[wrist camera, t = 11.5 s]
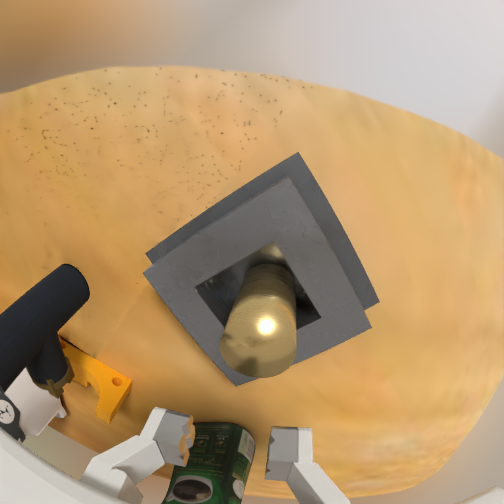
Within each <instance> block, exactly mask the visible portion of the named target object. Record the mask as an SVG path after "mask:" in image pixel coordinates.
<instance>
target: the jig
mask: <svg viewBox="0 0 504 504" xmlns="http://www.w3.org/2000/svg"><path fill="white" fill-rule="evenodd" d="M145 254H146V255H147V257H148V258H149V259H150V261H151V262H152V265H151V266H150V267H149V268H148V269H147V270H145V271H144V272H143V274H144V276H145V277H146V278H147V280H148V281H149V282H150V284H151V285H152V286H153V288H154V289H155V291H156V292H157V293H158V295H159V296H160V297H161V298H162V300H163V301H164V302H165V304H166V305H167V306H168V308H169V309H170V310H171V311H172V313H173V314H174V315H175V317H176V318H177V319H178V320H179V322H180V323H181V324H182V325H183V326H184V328H185V329H186V330H187V331H188V333H189V334H190V335H191V336H192V337H193V339H194V340H195V341H196V342H197V343H198V345H199V346H200V347H201V348H202V349H203V350H204V352H205V353H206V354H207V355H208V356H209V357H210V358H211V360H212V361H213V362H214V363H215V364H216V365H217V366H218V367H219V369H220V370H221V371H222V372H223V373H224V374H225V375H226V376H227V377H228V378H229V379H230V381H231V382H232V383H233V384H234V385H235V386H238V385H241V384H244V383H247V382H250V381H252V380H255V379H258V378H255V377H249V376H246V375H243V374H241V373H239V372H237V371H235V370H234V369H232V368H231V367H230V366H229V365H228V364H227V363H226V362H225V361H224V359H223V357H222V355H221V352H220V340H221V337H222V334H223V331H224V329H225V326H226V323H227V321H228V318H229V315H230V312H231V310H232V307H233V304H234V302H235V299H236V296H237V294H238V291H239V288H240V286H241V283H242V280H243V278H244V276H245V275H246V273H247V272H248V271H249V270H250V269H252V268H253V267H255V266H257V265H261V264H275V265H278V266H280V267H282V268H284V269H285V270H287V271H288V272H289V273H290V275H291V276H292V278H293V279H294V282H295V289H296V357H295V360H294V362H293V363H292V365H294V364H296V363H298V362H301V361H303V360H305V359H308V358H310V357H312V356H314V355H317V354H319V353H321V352H323V351H326V350H328V349H330V348H332V347H334V346H336V345H338V344H340V343H342V342H344V341H346V340H349V339H351V338H353V337H355V336H356V335H358V334H360V333H362V332H364V331H366V330H368V329H370V328H372V327H371V325H370V322H369V320H368V318H367V315H366V313H365V311H364V310H366V309H367V308H369V307H371V306H373V305H375V304H376V303H378V302H380V301H379V299H378V297H377V295H376V293H375V291H374V288H373V286H372V284H371V282H370V280H369V278H368V276H367V274H366V272H365V270H364V268H363V266H362V264H361V262H360V260H359V258H358V256H357V254H356V252H355V250H354V248H353V246H352V244H351V242H350V240H349V238H348V236H347V234H346V233H345V231H344V229H343V227H342V225H341V223H340V221H339V220H338V218H337V216H336V214H335V212H334V211H333V209H332V207H331V205H330V204H329V202H328V200H327V198H326V197H325V195H324V193H323V192H322V190H321V188H320V186H319V185H318V183H317V181H316V180H315V178H314V176H313V175H312V173H311V172H310V170H309V168H308V167H307V165H306V163H305V162H304V160H303V159H302V157H301V155H300V154H299V152H297V153H296V154H294V155H292V156H291V157H289V158H287V159H286V160H284V161H282V162H281V163H279V164H277V165H276V166H274V167H273V168H271V169H269V170H268V171H266V172H264V173H263V174H261V175H260V176H258V177H256V178H255V179H253V180H252V181H250V182H249V183H247V184H245V185H244V186H242V187H241V188H239V189H238V190H236V191H235V192H233V193H232V194H230V195H228V196H227V197H225V198H224V199H222V200H221V201H219V202H218V203H216V204H215V205H213V206H212V207H210V208H209V209H207V210H206V211H205V212H203V213H202V214H200V215H199V216H197V217H196V218H194V219H193V220H191V221H190V222H188V223H187V224H186V225H184V226H183V227H181V228H180V229H179V230H177V231H176V232H174V233H173V234H171V235H170V236H169V237H167V238H166V239H164V240H163V241H162V242H160V243H159V244H158V245H156V246H155V247H153V248H152V249H151V250H149V251H148V252H147V253H145Z"/></svg>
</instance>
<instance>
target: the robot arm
mask: <svg viewBox="0 0 504 504" xmlns="http://www.w3.org/2000/svg"><path fill="white" fill-rule="evenodd" d="M66 415H67V413H66V411H65V410H64V408H63V407H62V405H61V401H60V397H59V399H57V398H55V397H54V396H52V395H51V394H49V392H48V390H43V389H41V388H39V387H38V386H36V385H35V384H34V383H33V381H32V379H31V377H30V375H29V373H28V372H27V370H26V368H25V369H24V370H23V371H22V372H21V373H20V375H19V376H18V377H17V378H16V379H15V381H14V382H13V383H12V384H11V386H10V387H9V388H8V389H7V391H6V392H5V393H4V394H3V393H1V392H0V504H141V502H142V499H143V495H142V494H141V492H140V491H139V490H138V489H137V487H136V486H135V485H136V484H138V483H139V482H141V481H142V480H143V479H145V478H146V477H148V476H149V475H150V474H152V473H153V472H154V471H156V470H157V469H159V468H160V467H161V466H163V465H164V464H165V462H166V463H170V464H174V465H179V466H183V467H186V464H187V461H188V458H189V455H190V454H189V450H188V449H189V448H190V447H192V446H193V443H194V439H195V426H194V425H193V424H192V423H193V416H192V415H189V414H184V413H180V412H175V411H171V410H168V409H164V408H160V407H155V408H154V409H153V410H152V412H151V414H150V416H149V418H148V420H147V422H146V424H145V426H144V428H143V430H142V432H141V434H140V436H138V435H135V436H133V437H132V438H130V439H128V440H126V441H124V442H122V443H120V444H119V445H117V446H115V447H113V448H111V449H109V450H107V451H105V452H103V453H101V454H99V455H97V456H95V457H93V458H92V460H91V462H90V463H89V465H88V467H87V468H86V470H85V472H84V474H83V476H82V477H81V479H80V481H79V480H78V479H75V478H74V477H72V476H70V475H68V474H67V473H65V472H63V471H62V470H60V469H58V468H57V467H55V466H53V465H52V464H50V463H48V462H47V461H45V460H44V459H42V458H41V457H39V456H38V455H36V454H35V453H33V452H32V451H30V450H29V449H28V448H26V447H25V446H24V445H22V442H23V441H24V440H25V436H26V435H37V436H38V435H39V434H40V433H41V432H42V431H43V429H44V428H45V427H46V426H47V425H48V424H49V423H50V421H51V420H52V419H53V418H54V417H60V418H64V417H65V416H66ZM267 457H268V459H267V464H266V472H265V479H266V480H277V481H287V484H288V486H289V487H290V489H291V490H292V492H293V493H294V495H295V497H296V498H297V500H298V501H299V503H300V504H350V501H349V500H348V499H347V498H346V496H345V495H344V494H343V493H342V492H341V491H340V490H339V488H338V487H337V486H336V485H335V484H334V483H333V482H332V480H331V479H330V478H329V477H328V476H327V474H326V473H325V472H324V471H323V470H322V468H321V467H320V466H319V465H318V464H317V463H313V443H312V429H311V428H298V427H281V426H272V427H271V434H270V439H269V446H268V454H267ZM456 504H504V490H503V489H501V488H499V487H492V488H490V489H487V490H485V491H483V492H481V493H479V494H477V495H475V496H473V497H471V498H468V499H466V500H463V501H461V502H458V503H456Z"/></svg>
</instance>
